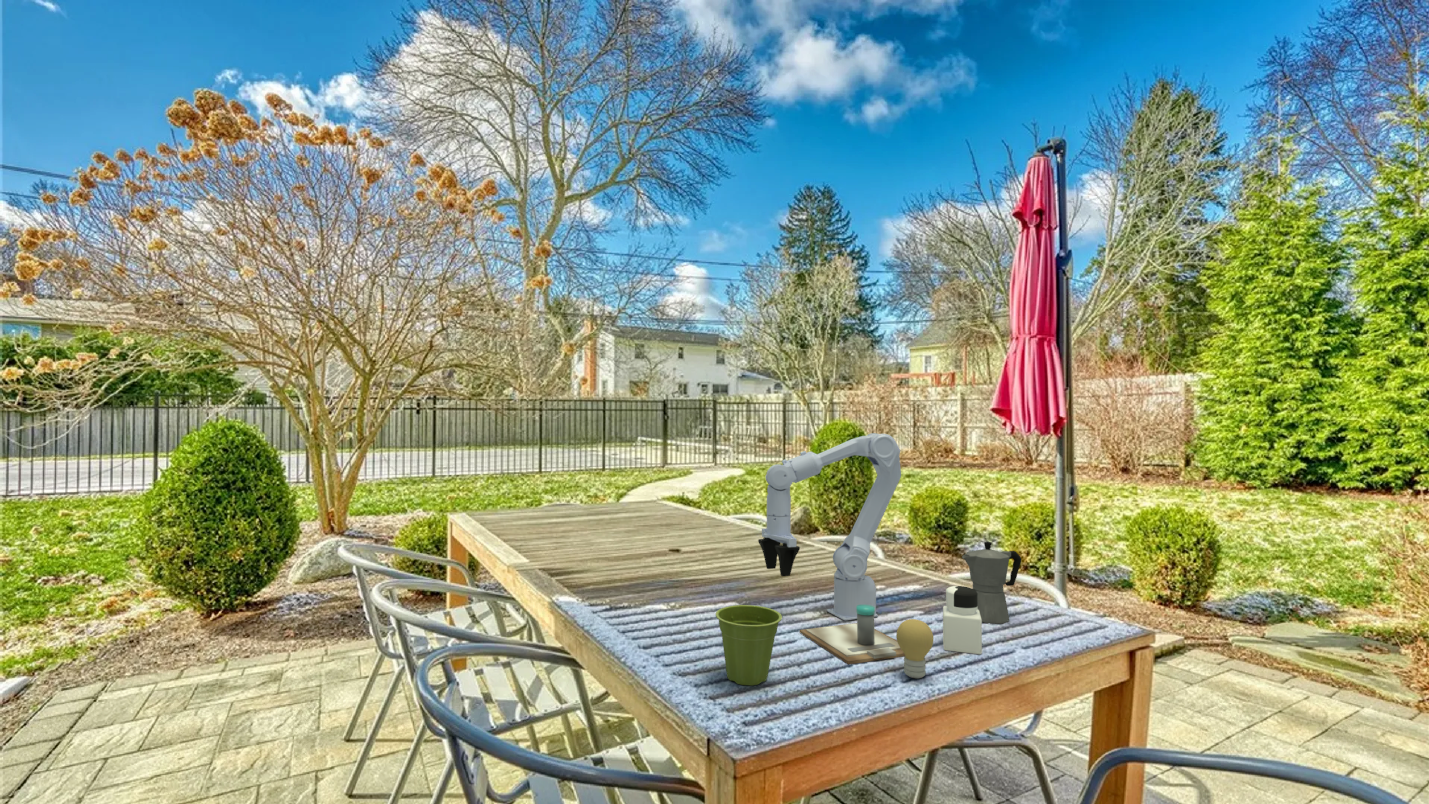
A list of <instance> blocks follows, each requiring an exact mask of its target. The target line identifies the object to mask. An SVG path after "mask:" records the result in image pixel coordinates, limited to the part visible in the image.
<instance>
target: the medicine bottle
mask: <svg viewBox="0 0 1429 804" xmlns="http://www.w3.org/2000/svg"><path fill="white" fill-rule="evenodd" d="M972 588H973V587H969V586H965V585H964V586H963V585H952V586H949V587H947V588H946V589H945V605H943V606H942V645H943V650H944V651H949V652H957V653H963V654H964V653H966V654H972V655H973V654H974V655H982V654H983V652H982V651H983V645H982V644H983V642H982V640H983V639H982V638H983V631H982V629H983V625H982V624H983V623H982V619H981V616H980V612H979V610H978V593H977V592H976V591H975V590H974V589H972Z"/></svg>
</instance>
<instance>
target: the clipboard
mask: <svg viewBox="0 0 1429 804" xmlns="http://www.w3.org/2000/svg"><path fill="white" fill-rule="evenodd" d="M800 632H801V633H802V634H803V635H802V634H801V633H800ZM799 633H800V634H801V635H802V636H804V635H805V636H804V637H806V638H807V639H809V638H810V639H811V640H810V639H809V640H810V641H811V642H813V641H814V642H813V643H814V644H817V645H818V646H819V647H821V648H822V649H824V650H825V651H827V652H829V653H830V654H832V655H833V656H834V657H836V658H838V659H839V660H841V661H842V662H844V663H845V664H846V665H848V666H849V665H855V664H856V665H857V664H860V663H861V664H862V663H867V662H874V661H881V660H888V659H894V658H895V659H896V658H902V657H903V658H904V657H905V654H904V652H903V651H902V650H901V648H900V646H899V644H898V642H897V639H895V638H893V637H891V636H889V635H887V634H885V633H883V632H881V631H880V630H878V629H875V628H874V637H875V644H874V645H871V646H865V645H860V644H858V643H857V622H854V623H846V624H836V625H830V626H821V627H820V626H819V627H812V628H805V629H804V628H803V629H800V630H799Z"/></svg>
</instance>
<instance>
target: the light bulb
mask: <svg viewBox="0 0 1429 804" xmlns="http://www.w3.org/2000/svg"><path fill="white" fill-rule="evenodd" d="M896 640H897V642H898V644H899V646H900V648H901V650H902V651H903V652H904V654H905V656H903V661H904V662H903V666H904V667H903V673H904V674H905V675H906V676H907V677H909V678H912V679H922V678H923V677H925V676H926V674H927V673H926V672H927V671H926V669H927V668H926V662H927V661H926V659H925V657H926V656H927V655H928V654H929V652H931V650H932V647H933V645H934V634H933V631H932V629H931V628H930V626H929V625H928V624H927V623H926V622H924V621H923V620H920V619H918V618H917V619H916V618H910V619H905V620H904V621H902V622H901V623H900V624H899V625H898V627H897V631H896Z"/></svg>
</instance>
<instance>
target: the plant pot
mask: <svg viewBox="0 0 1429 804" xmlns="http://www.w3.org/2000/svg"><path fill="white" fill-rule="evenodd" d="M715 617H716V618H717V620H718V625H719V629H720V632H721V639H722V648H723V654H724V655H723V656H724V663H725V670H726V676H727V679H728V680H729V681H731V682H735V683H736V684H737V685H740V686H750V687H751V686H757V685H760V684H761V683H763V682H764V683H765V682H766V681H767V680H768V677H769V671H770V666H771V660H772V654H773V650H774V649H773V648H774V643H775V637H776V634H777V632H778V627H779V624H780V622H782V620H783V616H782V614H781V612H779V611H778V610H776V609H772V608H769V607H766V606H761V605H750V604H735V605H729V606H724V607H722V608H720V609H718V610H716V612H715Z"/></svg>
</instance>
